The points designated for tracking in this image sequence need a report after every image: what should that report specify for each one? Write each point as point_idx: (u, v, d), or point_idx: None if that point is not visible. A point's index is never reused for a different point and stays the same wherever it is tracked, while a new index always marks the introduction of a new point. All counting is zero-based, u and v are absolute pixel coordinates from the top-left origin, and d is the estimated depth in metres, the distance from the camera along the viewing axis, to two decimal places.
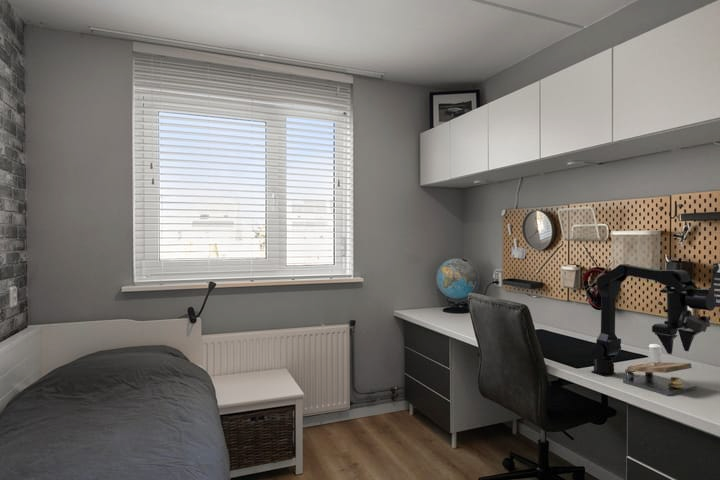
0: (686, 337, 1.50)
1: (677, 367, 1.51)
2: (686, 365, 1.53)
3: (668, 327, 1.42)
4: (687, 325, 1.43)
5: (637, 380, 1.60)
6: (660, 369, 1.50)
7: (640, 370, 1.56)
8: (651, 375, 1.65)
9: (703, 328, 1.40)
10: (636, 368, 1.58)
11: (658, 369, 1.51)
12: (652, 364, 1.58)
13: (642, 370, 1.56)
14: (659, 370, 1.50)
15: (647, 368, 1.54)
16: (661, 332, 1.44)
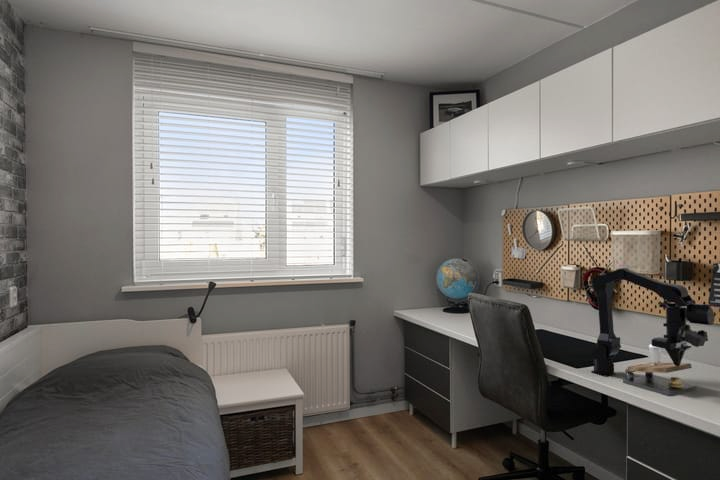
0: None
1: (677, 367, 1.51)
2: (686, 365, 1.53)
3: (667, 341, 1.46)
4: (686, 339, 1.47)
5: (637, 380, 1.60)
6: (660, 369, 1.50)
7: (640, 370, 1.56)
8: (651, 375, 1.65)
9: (701, 342, 1.44)
10: (636, 368, 1.58)
11: (658, 369, 1.51)
12: (652, 364, 1.58)
13: (642, 370, 1.56)
14: (659, 370, 1.50)
15: (647, 368, 1.54)
16: (660, 346, 1.48)
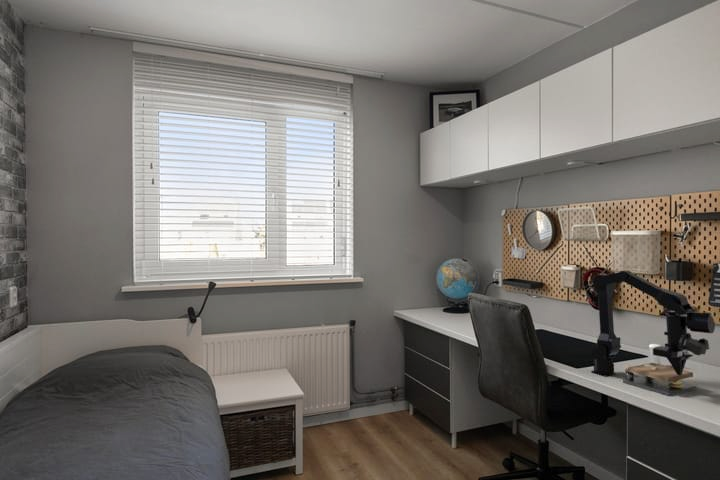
0: None
1: (679, 376, 1.50)
2: (688, 374, 1.52)
3: (668, 350, 1.46)
4: (687, 348, 1.46)
5: (637, 380, 1.60)
6: (662, 377, 1.50)
7: (641, 373, 1.56)
8: None
9: (702, 351, 1.44)
10: (637, 370, 1.57)
11: (660, 377, 1.50)
12: (654, 368, 1.58)
13: (643, 374, 1.56)
14: (660, 378, 1.50)
15: (648, 373, 1.54)
16: (662, 355, 1.47)
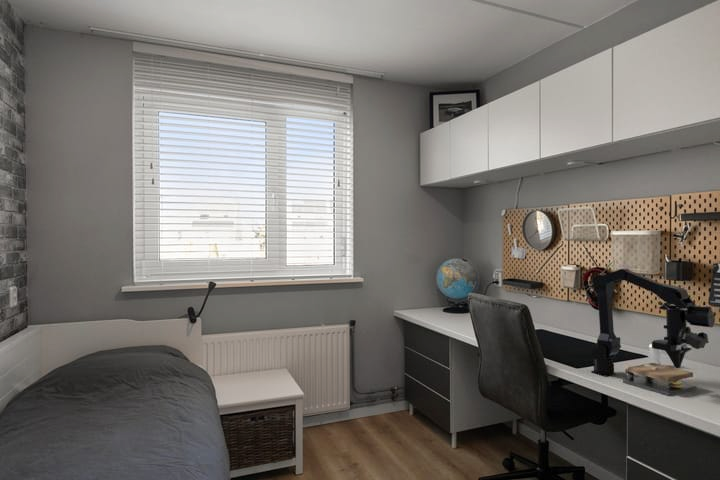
0: None
1: (679, 376, 1.50)
2: (688, 374, 1.52)
3: (668, 343, 1.46)
4: (686, 341, 1.47)
5: (637, 380, 1.60)
6: (662, 377, 1.50)
7: (641, 373, 1.56)
8: None
9: (702, 345, 1.44)
10: (637, 370, 1.57)
11: (660, 377, 1.50)
12: (654, 368, 1.58)
13: (643, 374, 1.56)
14: (660, 378, 1.50)
15: (648, 373, 1.54)
16: (661, 348, 1.47)
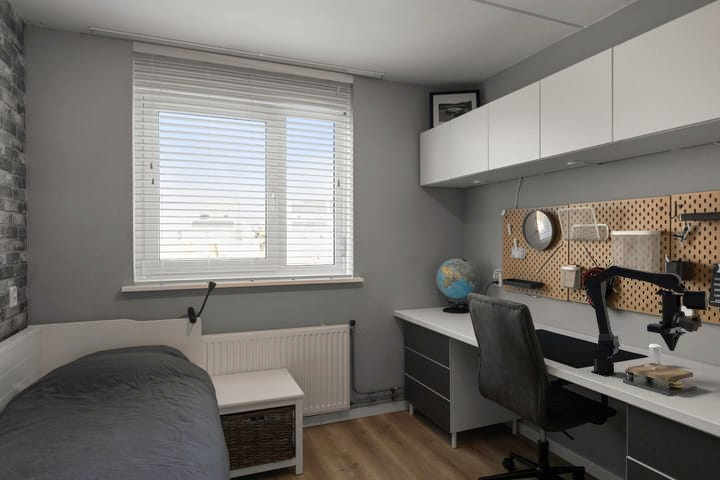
0: None
1: (679, 376, 1.50)
2: (688, 374, 1.52)
3: (662, 327, 1.52)
4: (680, 325, 1.52)
5: (637, 380, 1.60)
6: (662, 377, 1.50)
7: (641, 373, 1.56)
8: None
9: (695, 328, 1.50)
10: (637, 370, 1.57)
11: (660, 377, 1.50)
12: (654, 368, 1.58)
13: (643, 374, 1.56)
14: (660, 378, 1.50)
15: (648, 373, 1.54)
16: (655, 331, 1.53)
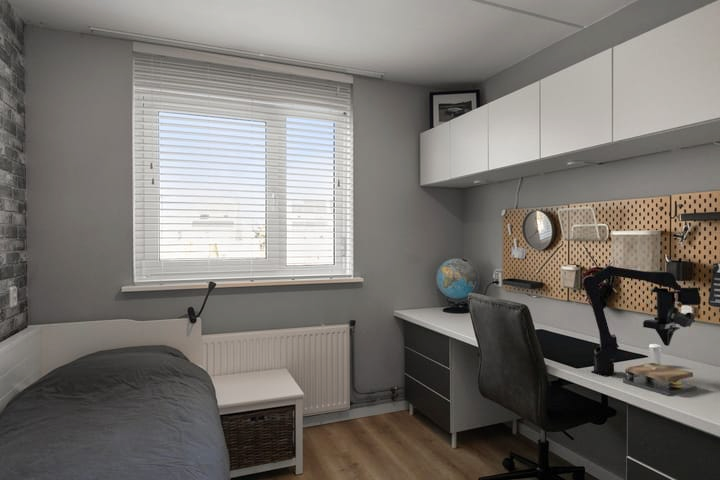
0: None
1: (679, 376, 1.50)
2: (688, 374, 1.52)
3: (657, 322, 1.59)
4: (674, 321, 1.59)
5: (637, 380, 1.60)
6: (662, 377, 1.50)
7: (641, 373, 1.56)
8: None
9: (688, 323, 1.57)
10: (637, 370, 1.57)
11: (660, 377, 1.50)
12: (654, 368, 1.58)
13: (643, 374, 1.56)
14: (660, 378, 1.50)
15: (648, 373, 1.54)
16: (651, 327, 1.60)
